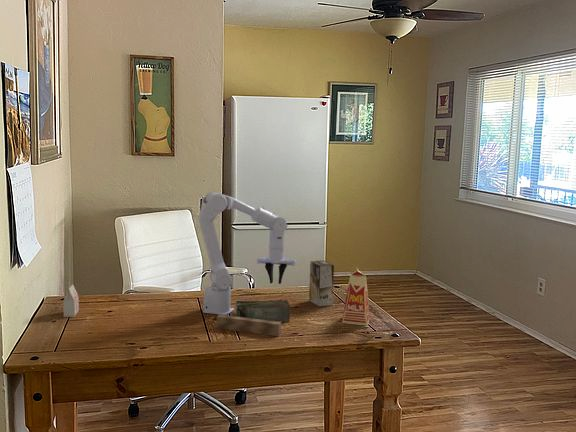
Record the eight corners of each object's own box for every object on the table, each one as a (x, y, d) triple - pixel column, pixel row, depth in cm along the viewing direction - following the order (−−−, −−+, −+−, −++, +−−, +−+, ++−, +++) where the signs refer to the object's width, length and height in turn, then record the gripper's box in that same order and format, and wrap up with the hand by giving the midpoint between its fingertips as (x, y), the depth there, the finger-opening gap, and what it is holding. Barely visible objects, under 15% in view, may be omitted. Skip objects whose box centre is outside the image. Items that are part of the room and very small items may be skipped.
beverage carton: (235, 316, 212) (235, 298, 211) (287, 315, 214) (288, 298, 213) (235, 323, 204) (236, 305, 203) (290, 322, 206) (291, 304, 205)
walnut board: (216, 328, 198) (216, 316, 197) (219, 325, 200) (219, 314, 199) (278, 336, 191) (278, 324, 191) (280, 333, 194) (281, 322, 193)
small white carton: (63, 317, 205) (62, 289, 203) (68, 311, 211) (67, 284, 210) (74, 316, 205) (73, 289, 204) (78, 311, 212) (78, 284, 210)
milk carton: (367, 325, 204) (370, 269, 202) (341, 323, 206) (343, 267, 203) (369, 317, 213) (372, 264, 211) (344, 315, 215) (346, 262, 212)
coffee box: (333, 305, 228) (335, 264, 226) (318, 306, 225) (320, 266, 223) (322, 298, 236) (323, 260, 234) (308, 300, 233) (309, 261, 231)
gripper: (255, 248, 217) (254, 284, 219) (294, 250, 215) (293, 286, 217) (259, 245, 224) (258, 279, 226) (296, 247, 222) (295, 282, 224)
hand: (275, 282), depth 222 cm, fingers open, 3 cm apart
